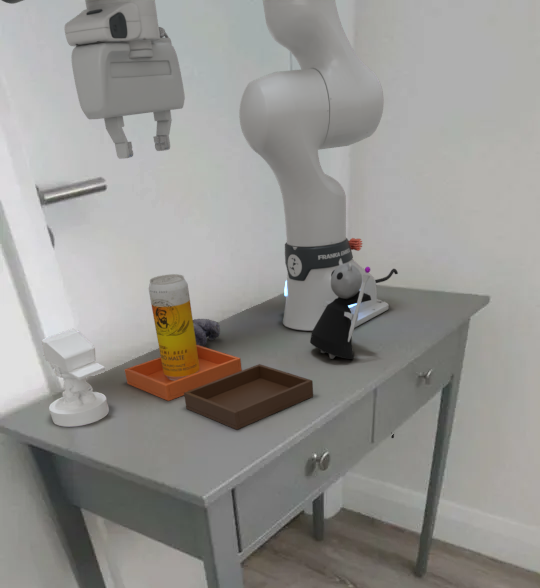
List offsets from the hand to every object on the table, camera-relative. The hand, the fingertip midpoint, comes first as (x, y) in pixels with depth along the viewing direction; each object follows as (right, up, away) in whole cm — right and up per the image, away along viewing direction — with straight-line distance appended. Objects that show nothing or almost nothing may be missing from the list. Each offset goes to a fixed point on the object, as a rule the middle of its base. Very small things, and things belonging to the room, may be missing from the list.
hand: (145, 154), depth 92 cm
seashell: (+5, -16, +29) cm, 34 cm away
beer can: (+3, -27, +16) cm, 31 cm away
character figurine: (-11, -36, +7) cm, 38 cm away
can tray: (+4, -27, +16) cm, 31 cm away
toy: (+30, -21, +20) cm, 42 cm away
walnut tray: (+15, -34, +6) cm, 38 cm away
